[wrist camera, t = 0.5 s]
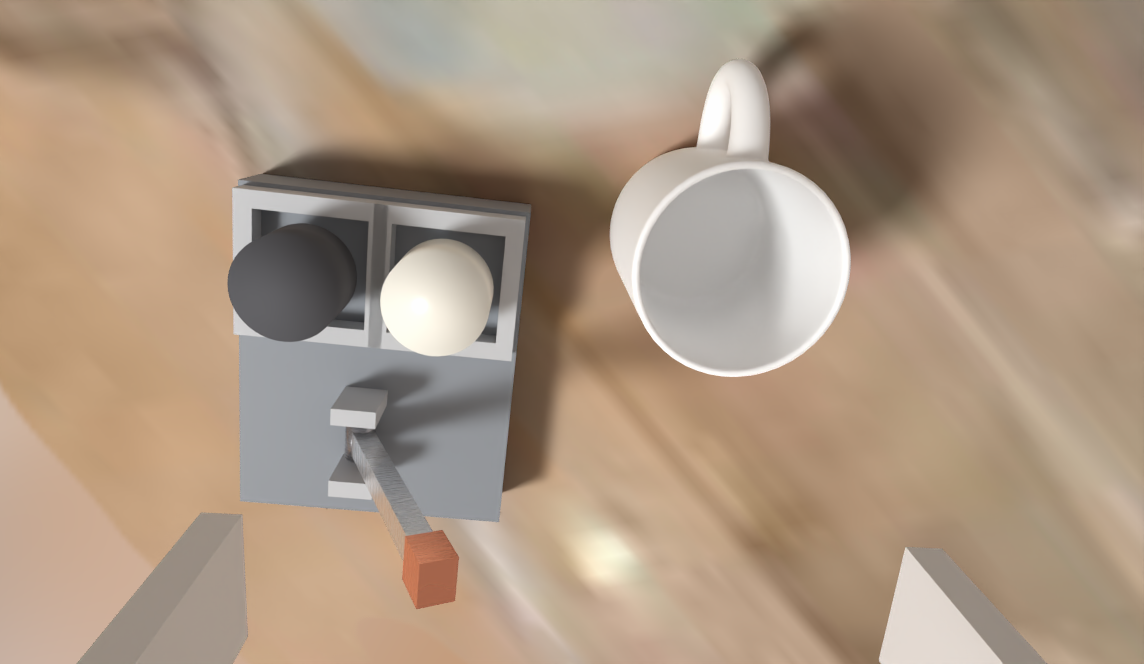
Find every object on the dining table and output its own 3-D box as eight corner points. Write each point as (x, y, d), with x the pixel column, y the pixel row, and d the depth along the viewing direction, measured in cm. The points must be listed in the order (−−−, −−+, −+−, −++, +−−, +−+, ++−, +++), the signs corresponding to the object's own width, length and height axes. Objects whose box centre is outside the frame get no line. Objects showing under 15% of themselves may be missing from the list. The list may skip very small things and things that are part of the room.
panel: (261, 173, 36) (212, 186, 31) (531, 204, 37) (530, 222, 32) (261, 473, 41) (217, 531, 35) (501, 493, 42) (496, 553, 36)
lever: (343, 415, 36) (419, 562, 26) (372, 413, 37) (458, 555, 26) (341, 451, 37) (416, 610, 26) (370, 448, 37) (454, 602, 27)
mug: (627, 55, 36) (662, 36, 26) (798, 75, 36) (897, 64, 26) (598, 301, 39) (619, 368, 29) (755, 315, 40) (827, 386, 30)
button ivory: (396, 233, 33) (382, 245, 30) (497, 244, 33) (494, 257, 30) (391, 330, 34) (377, 350, 31) (488, 339, 34) (484, 361, 31)
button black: (254, 217, 32) (227, 228, 29) (358, 229, 33) (341, 241, 30) (254, 316, 34) (228, 336, 31) (355, 326, 34) (338, 346, 31)
